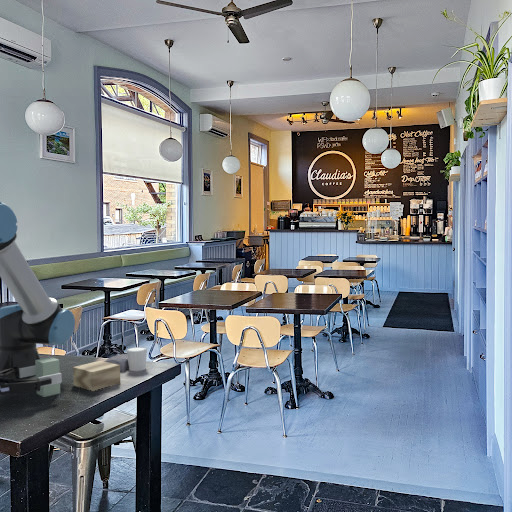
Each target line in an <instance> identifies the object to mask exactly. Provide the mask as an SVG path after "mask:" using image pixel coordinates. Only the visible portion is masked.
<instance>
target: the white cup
mask: <svg viewBox="0 0 512 512" xmlns="http://www.w3.org/2000/svg"><path fill="white" fill-rule="evenodd" d="M147 353H148V348H147V347H144V346H136V347H134V346H133V347H129V348H126V354H127V357H128V365H129V368H128V371H131V372H142V371H145V370H146V367H147V355H148V354H147Z"/></svg>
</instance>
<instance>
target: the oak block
mask: <svg viewBox="0 0 512 512" xmlns="http://www.w3.org/2000/svg"><path fill="white" fill-rule="evenodd" d="M104 361H105V360H104ZM104 361H103V360H97V361H94V362H89V363H86V364H80V365H77V366H73V367H72V372H73V373H72V375H73V377H72V378H73V387H77V388H80V387H81V389H84V390H87V391H90V390H91V391H90V392H96V391H99V390H98V389H100V390H102V389H101V388H103V389H105V388H104V387H107V388H109V387H108V386H110V387H112V386H111V385H113V386H115V384H117V385H119V383H120V384H121V371H120V365H117V364H113V363H109V362H104ZM95 390H96V391H95Z"/></svg>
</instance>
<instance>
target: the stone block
mask: <svg viewBox="0 0 512 512" xmlns="http://www.w3.org/2000/svg"><path fill="white" fill-rule="evenodd" d="M104 362H109V363H113V364H117V365H120V372H125V371H127V370H129V365H128V357H127V353H122V354H116V355H112V356H110V357H107V359H106V360H104Z"/></svg>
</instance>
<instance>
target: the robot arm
mask: <svg viewBox="0 0 512 512" xmlns="http://www.w3.org/2000/svg"><path fill="white" fill-rule="evenodd" d="M17 223H18V219H17V216H16V214H15V212H14V210H13V209H12V208H11V207H10V206H9V205H8V204H6V203H4V202H2V201H0V279H1V280H2V281H3V283H4V284H5V287H6V288H7V289H8V290H9V292H10V294H11V295H12V296H13V298H14V299H15V301H16V302H17V304H11V305H6V306H2V307H0V395H2V396H4V395H7V394H15V393H25V392H26V393H27V392H35V391H40V387H44V386H49V385H53V384H58V383H60V384H61V383H62V382H63V377H62V373H61V372H60V373H57V374H52V375H47V376H43V377H38V379H36V378H27V377H32V376H33V377H34V376H36V363H35V360H38V359H42V358H41V356H40V353H39V351H38V349H37V344H39V345H47V346H62V345H65V344H66V343H67V342H68V341H70V339H71V337H72V335H73V334H74V330H75V325H76V321H75V315H74V313H73V312H72V310H69V309H67V308H64V309H63V308H61V306H60V304H59V303H58V301H57V300H56V299H55V298H53V297H49V296H48V294H47V292H46V291H45V290H44V289H45V288H44V287H43V286H42V284H41V283H40V280H39V279H38V278H37V276H36V275H35V272H34V271H33V269H32V267H31V265H30V264H29V263H28V261H27V260H26V258H25V256H24V254H23V253H22V251H21V249H20V248H19V246H18V245H17V242H16V240H17V237H18V234H17V231H18V225H17ZM17 378H19V379H17Z"/></svg>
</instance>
